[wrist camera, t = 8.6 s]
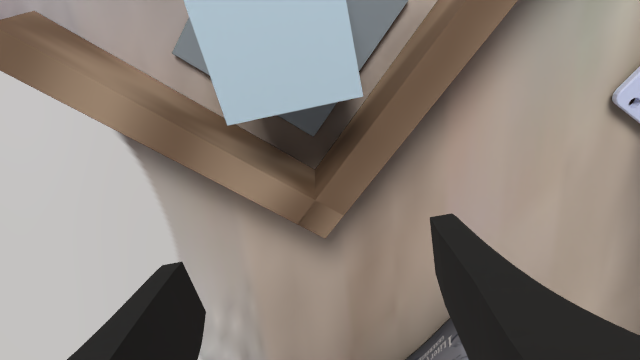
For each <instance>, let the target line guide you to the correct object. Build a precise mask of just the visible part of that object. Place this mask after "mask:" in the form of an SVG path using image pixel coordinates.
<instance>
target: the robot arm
mask: <svg viewBox="0 0 640 360" xmlns="http://www.w3.org/2000/svg"><path fill="white" fill-rule="evenodd" d="M633 98H635V101H634V102H633V103H632V104H631V105H629V102H630V101H631V100H632V99H633ZM612 101H613V102H614V104H616V105H617V106H618V107H619V108H621V109H622V110H623V111H624V112H626V113H627V114H628V115H629V116H631V117H632V118H633V119H634V120H636V121H637V122H638V123H639V124H640V66H639V67H638V68H637V69H636V70H635V71H634V72H633V73H632V74H631V75H630V76H629V77H628V78H627V79H626V80H625V81H624V82H623V83H622V84H621V85H620V86H619V87H618V88H617V89H616V91H615V92H614V93H613V96H612ZM430 225H431V234H432V243H433V253H434V262H435V272H436V276H437V279H438V283H439V286H440V290H441V293H442V296H443V299H444V302H445V306H446V308H447V310H448V313H449V315H450V317H451V320H452V322H453V324H454V327H455V329H456V331H457V333H458V336H459V338H460V340H461V343H462V345H463V347H464V349H465V352H466V354H467V356H468V359H469V360H640V335H637V334H635V333H633V332H630V331H628V330H626V329H624V328H621V327H619V326H617V325H615V324H613V323H611V322H609V321H607V320H605V319H603V318H601V317H599V316H597V315H595V314H593V313H591V312H589V311H587V310H585V309H583V308H581V307H579V306H577V305H575V304H573V303H572V302H570V301H568V300H566V299H564V298H563V297H561V296H559V295H558V294H556V293H554V292H553V291H551V290H549V289H548V288H546V287H545V286H543V285H541V284H540V283H538V282H537V281H535V280H534V279H532V278H531V277H530V276H528V275H527V274H525V273H524V272H522V271H521V270H520V269H518V268H517V267H515V266H514V265H513V264H511V263H510V262H509V261H507V260H506V259H505V258H504V257H502V256H501V255H500V254H499V253H497V252H496V251H495V250H494V249H492V248H491V247H490V246H489V245H487V244H486V243H485V242H484V241H483V240H482V239H480V238H479V237H478V236H477V235H476V234H475V233H474V232H472V231H471V230H470V229H469V228H468V227H467V226H466V225H465V224H464V223H463V222H462V221H461V220H460V219H458V218H457V217H456V216H455V215H453V214H446V215H441V216H435V217H430ZM205 314H206V311H205V309H204V307H203V305H202V303H201V301H200V298H199V296H198V294H197V292H196V290H195V288H194V286H193V284H192V282H191V279H190V277H189V275H188V273H187V271H186V269H185V267H184V265H183V263H182V262H178V263H173V264H167V265H163V266H161V267H160V268H159V269H158V270H157V271H156V272H155V273H154V274H153V275H152V276H151V277H150V278H149V279H148V280H147V281H146V282H145V283H144V284H143V285H142V286H141V287H140V288H139V289H138V290H137V291H136V292H135V293H134V294H133V295H132V297H131V298H130V299H129V300H128V301H127V302H126V303H125V304H124V305H123V306H122V307H121V308H120V309H119V310H118V311H117V312H116V313H115V314H114V315H113V316H112V317H111V318H110V319H109V320H108V321H107V322H106V323H105V324H104V325H103V326H102V327H101V328H100V329H99V330H98V331H97V332H96V333H95V334H94V335H93V336H92V337H91V338H90V339H89V340H88V341H87V342H86V343H84V345H82V346H81V347H80V348H79V349H78V350H77V351H76V352H75V353H74V354H73V355H71V356H70V357H69V358H68V359H67V360H197V359H198V356H199V352H200V348H201V344H202V337H203V331H204V322H205Z"/></svg>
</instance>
